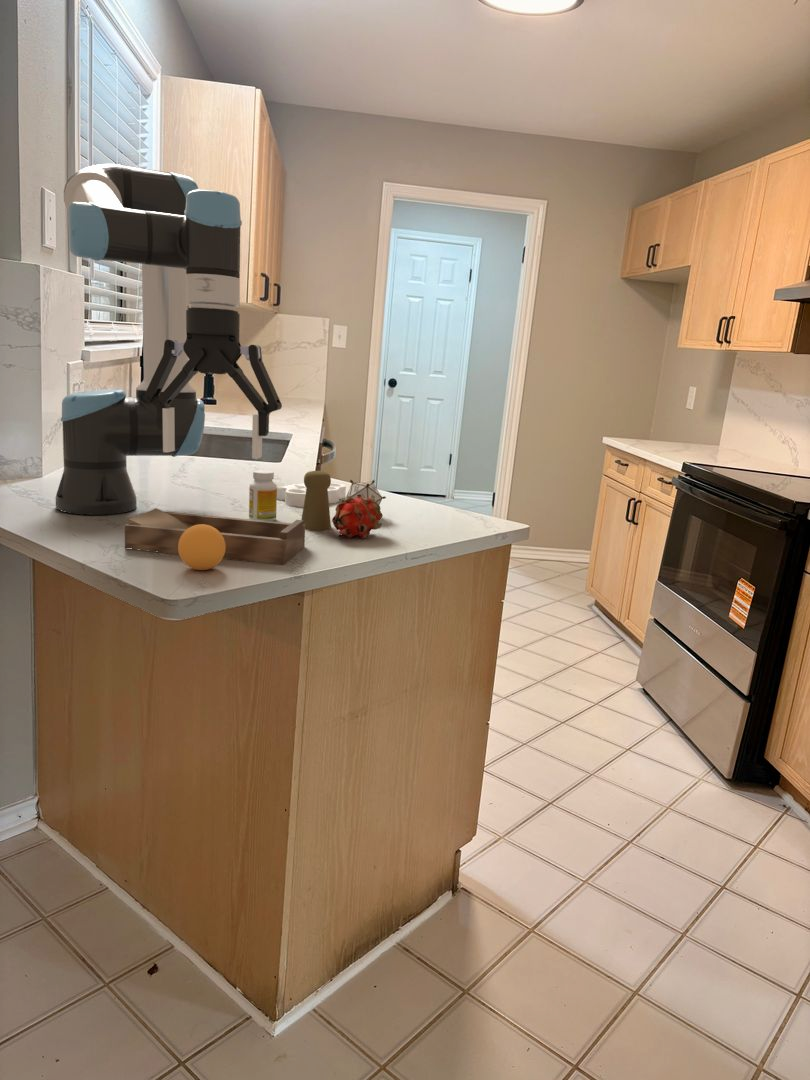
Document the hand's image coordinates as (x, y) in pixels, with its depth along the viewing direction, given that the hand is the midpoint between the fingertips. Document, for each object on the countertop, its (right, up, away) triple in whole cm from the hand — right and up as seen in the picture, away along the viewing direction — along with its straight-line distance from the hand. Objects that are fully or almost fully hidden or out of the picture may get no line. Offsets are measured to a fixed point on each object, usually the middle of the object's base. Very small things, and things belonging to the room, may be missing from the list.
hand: (212, 454), depth 116 cm
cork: (+11, -10, +35) cm, 38 cm away
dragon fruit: (+20, -12, +29) cm, 37 cm away
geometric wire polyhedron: (+20, -8, +46) cm, 51 cm away
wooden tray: (-3, -14, +15) cm, 21 cm away
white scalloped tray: (+7, -4, +62) cm, 63 cm away
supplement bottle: (0, -9, +38) cm, 39 cm away
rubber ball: (-2, -14, +1) cm, 14 cm away
